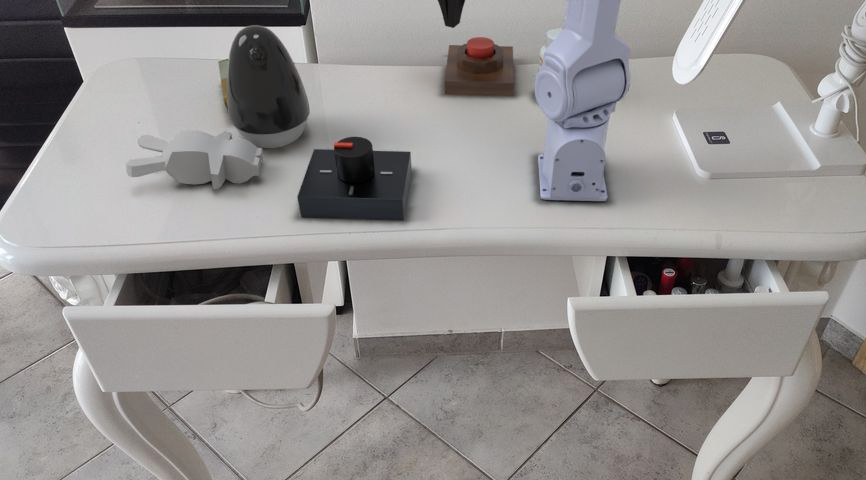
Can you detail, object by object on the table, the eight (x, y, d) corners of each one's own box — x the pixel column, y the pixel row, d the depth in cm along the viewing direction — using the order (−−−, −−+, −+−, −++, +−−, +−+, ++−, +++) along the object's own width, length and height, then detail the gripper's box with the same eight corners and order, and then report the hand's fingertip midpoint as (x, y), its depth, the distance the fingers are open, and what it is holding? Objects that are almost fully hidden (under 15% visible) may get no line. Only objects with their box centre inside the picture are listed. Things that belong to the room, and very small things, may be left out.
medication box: (226, 85, 106) (217, 60, 104) (244, 81, 107) (235, 56, 104) (232, 123, 98) (222, 97, 95) (251, 119, 98) (242, 92, 95)
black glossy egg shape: (234, 163, 91) (206, 49, 81) (236, 122, 98) (210, 13, 88) (315, 155, 93) (297, 42, 82) (311, 115, 100) (294, 7, 90)
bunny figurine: (253, 167, 83) (117, 158, 81) (256, 202, 87) (126, 195, 85) (264, 125, 90) (139, 116, 88) (266, 159, 94) (146, 151, 92)
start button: (493, 60, 105) (493, 49, 104) (466, 59, 105) (466, 48, 104) (493, 48, 108) (494, 37, 107) (467, 47, 108) (467, 36, 107)
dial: (377, 162, 86) (374, 134, 83) (372, 184, 83) (369, 155, 80) (340, 161, 86) (337, 133, 83) (334, 182, 83) (330, 154, 80)
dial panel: (403, 220, 83) (402, 198, 81) (300, 217, 83) (296, 195, 81) (411, 171, 90) (410, 150, 88) (317, 169, 90) (313, 147, 88)
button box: (513, 96, 104) (514, 71, 102) (444, 94, 105) (444, 69, 102) (512, 59, 113) (513, 35, 111) (449, 58, 113) (448, 33, 111)
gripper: (386, -80, 91) (393, 24, 100) (489, -62, 86) (486, 45, 95) (414, -95, 95) (418, 7, 105) (513, -78, 91) (508, 26, 100)
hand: (452, 24), depth 100 cm, fingers closed
